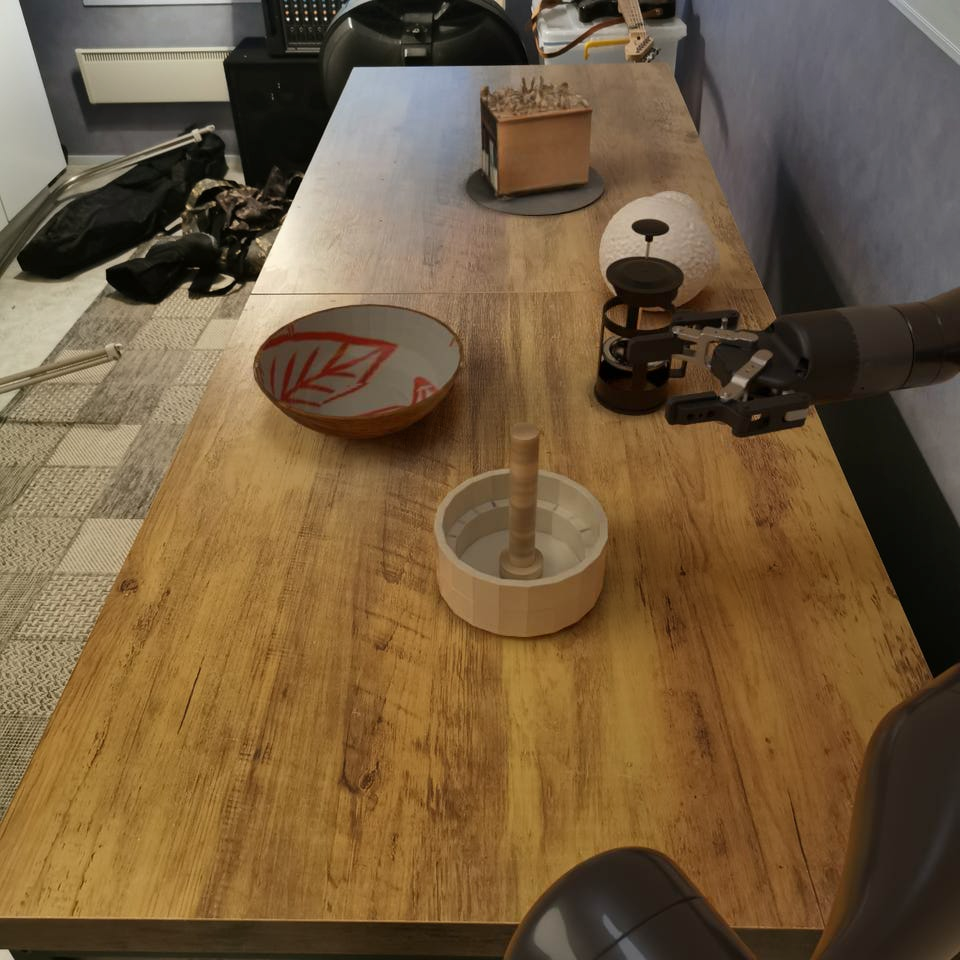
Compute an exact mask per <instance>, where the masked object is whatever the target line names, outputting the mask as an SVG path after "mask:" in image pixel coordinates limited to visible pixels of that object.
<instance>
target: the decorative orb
mask: <svg viewBox="0 0 960 960" xmlns="http://www.w3.org/2000/svg"><path fill="white" fill-rule="evenodd" d="M641 219H656V220H660V221H663V222H665V223H666V224H667V225H668V226H669V231H668V232H667V233H666V234H664V235H660V236H654V237H653V241H652V242H650V249H649V257H655V258H659V259H663V260H666V261H669V262H671V263H673V264H675V265H676V266H678V267H679V268H680V269H681V270H682V272H683V274H684V281H683V284H682V285H681V286H680V287H679V289H678V294H677V297H676V299H675V300H674V301H672V302H671V303H673V304H674V305H675V306H676V308H678V307H681V305H683V304H686V303H687V302H689V301H691V300H692V299H694V298H696V297H697V295H698V294H700V292H701V291H702V290H704V288H705V287H709V286H710V285H711V284H713V280H714V277H715V275H716V273H717V272H718V271H719V267H720V265H721V256H720V251H719V247H718V245H717V243H716V241H715V238H714V235H713V234H712V230H711V229H710V227H709V225H708V224H707V223H706V221H705V215H704V213H703V210H702V208H701V206H700V205H699V204H698V202H697V201H696V200H695V199H693V197H692V196H689V195H688V194H686V193H683V192H678V191H676V190H667V191H666V190H665V191H660V192H657V193H656V194H654V195H650V196H642V197H639V198H636V199H634V200H632V201H630V202H628V203H626V205H624V206H622V207H621V208H620V209H618V211H617V212H616V213H615V214H613V215H612V217H611V219H610V220H609V221H608V224H607V225H606V226H605V229H604V232H603V234H602V236H601V240H600V241H599V243H600V245H599V251H598V257H599V259H598V262H599V268H600V270H599V272H600V273H601V276H602V279H603V280H604V283H605V284H606V286H607V287H608V289H609V291H610V293H612V294H613V295H614V296H617V294H616V292H615V290H614V288H613V285H611V284H610V283H609V281H608V280H607V278H606V270H607V268H608V266H609V265H610V264H612V263H613V262H615V261H617V260H619V259H623V258H627V257H635V256H645V255H646V247H647V242H646V241H645V236H644V235H641V234H638V233H636V232H634V231H633V230H632V228H631V226H632V224H633V223H634V222H635V221H638V220H641ZM642 311H646V312H647V311H648V312H665V311H666V310H665V309H663V308H661V307H654V308H642Z"/></svg>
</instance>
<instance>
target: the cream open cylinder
mask: <svg viewBox="0 0 960 960" xmlns="http://www.w3.org/2000/svg"><path fill="white" fill-rule="evenodd" d="M509 490H510V467H506V468H500V469H493V470H492V469H491V470H487V471H485V472H483V473H480V474H477V475H475V476H472V477H470V478H467V479H466V480H464V481H463V482H461V483H460V484H458V485H457V486H456V487H454V488H453V489H452V490H450V491H449V492H448V493H447V494H446V496H445V497H444V499H443V500H442V502H440V504H439V506H438V507H437V509H436V514H435V517H434V523H433V539H434V540H433V541H434V559H435V575H436V581H437V584H438V589H439V593H440V596H441V597H442V599H443V600H444V601H445V603H446V604H447V605H448V606H449V608H450V610H451V611H452V612H453V613H454V614H455V615H457V616H458V617H459V618H461V619H463V620H464V621H465V622H467V623H468V624H470V625H471V626H473V627H475V628H478V629H481V630H484V631H487V632H488V633H489V632H490V633H493V634H496V635H499V636H507V637H518V638H519V637H520V638H529V637H536V636H542V635H543V636H544V635H548V634H554V633H556V632H558V631H560V630H563V629H564V628H567V627H569V626H572V625H573V624H576V623H577V622H579V621H580V620H581V619H582V618H583V617H584V616H586V614H588V612H589V611H591V610H592V609H593V608H594V607H595V605H596V603H597V600H598V598H599V597H600V594H601V592H602V590H603V586H604V579H605V577H604V576H605V569H606V568H605V567H606V559H607V550H608V543H609V519H608V517H607V516H608V515H607V514H606V512H605V510H604V508H603V506H602V504H601V501H600V500H599V499H598V498H596V496H595V495H593V493H592V492H590V490H588V489H587V488H586V487H585V486H584V485H582V484H581V483H579V482H576V481H575V480H573V479H571V478H570V477H567V476H566V475H563V474H560V473H556V472H552V471H550V470H549V471H548V470H545V469H542V468H538V489H537V513H536V538H535V547H536V548H537V549H538V550H540V552H541V553H542V555H543V558H544V563H543V576H542V579H535V580H529V581H525V580H511V579H501V577H500V574H499V558H500V554H501V552H502V551H503V550H504V549H505V548H506V547H508V546H509Z"/></svg>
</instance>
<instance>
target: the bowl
mask: <svg viewBox="0 0 960 960" xmlns="http://www.w3.org/2000/svg"><path fill="white" fill-rule="evenodd" d="M464 350H465V349H464V345H463V343H462V341H461V339H460V337H459V335H458V334H457V333H456V332H455V331H454V330H453V329H452V328H451V326H449V325H448V324H446V323H445V322H443V321H442V320H440V319H439V318H437V317H434V316H432V315H430V314H428V313H425V312H423V311H420V310H417V309H414V308H413V309H412V308H409V307H405V306H398V305H390V304H380V303H379V304H377V303H363V304H347V305H342V306H335V307H330V308H326V309H322V310H318V311H314V312H311V313H309V314H306V315H303V316H300V317H298V318H296V319H294V320H292V321H290V322H288V323H286V324H285V325H283V326H281V327H280V328H278V329H277V330H276V331H274V332H273V333H272V334H270V335H269V336H268V337H266V339H265V340H264V341H263V343H261V344H260V345H259V348H258V349H257V352H256V353H255V356H254V358H253V364H252V372H253V377H254V381H255V382H256V384H257V386H258V388H259V389H260V391H261V392H262V393H263V394H264V396H266V398H267V399H268V400H269V401H270V402H271V403H272V404H273V405H274V406H275V407H276V408H278V410H280V411H281V412H282V413H283V414H284V415H285V416H287V417H288V418H289V419H291V420H292V421H294V422H295V423H298V424H299V425H301V426H303V427H305V428H307V429H309V430H311V431H314V432H316V433H319V434H322V435H325V436H328V437H334V438H338V439H339V438H340V439H350V440H351V439H353V440H359V439H372V438H373V439H374V438H379V437H383V436H388V435H391V434H393V433H397V432H400V431H402V430H404V429H407V428H408V427H410V426H412V425H414V424H415V423H417V422H418V421H419V420H421V419H423V418H424V417H425V416H427V415H428V414H430V413H431V412H432V410H434V409H435V408H436V407H437V406H438V405H439V403H440V402H442V400H444V398H445V397H446V396H447V394H448V393H449V391H450V390H451V388H452V387H453V385H454V383H455V382H456V380H457V379H458V377H459V374H460V373H461V371H462V369H463V364H464V362H465V361H464V360H465V351H464Z"/></svg>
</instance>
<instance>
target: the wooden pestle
mask: <svg viewBox="0 0 960 960" xmlns="http://www.w3.org/2000/svg"><path fill="white" fill-rule="evenodd" d="M509 433H510V434H509V437H510V438H509V444H510V445H509V468H510V490H509V546H508V547H506V548H505V549H504V550H503V551H502V552H501V554H500V558H499V574H500V577H501V579H511V580H525V581H529V580H535V579H542V576H543V563H544V558H543V555H542V553H541V552H540V550H538V549H537V548H536V547H535V538H536V513H537V489H538V469H539V466H540V465H539V460H540V441H541V440H540V439H541V438H540V436H541V435H540V434H541V430H540V428H539V427H538V425H536V424H534V423H532V422H529V421H522V422H517V423H515V424H514V425H512V426H511V428H510V432H509Z"/></svg>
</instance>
